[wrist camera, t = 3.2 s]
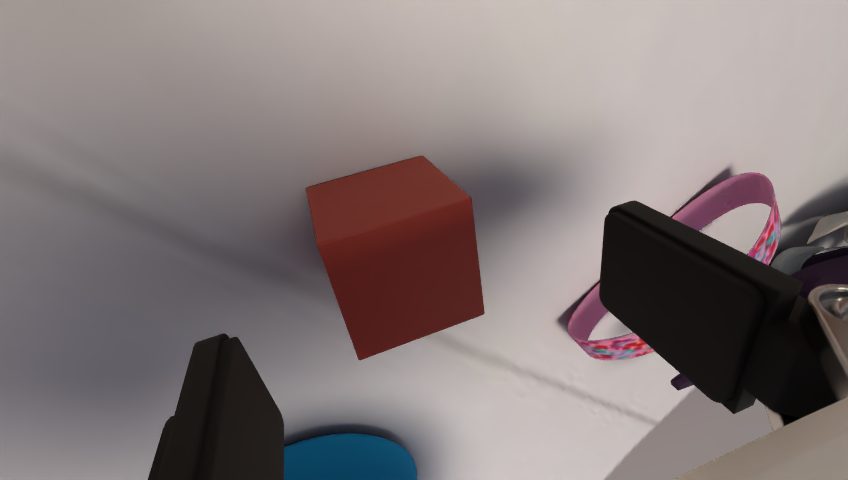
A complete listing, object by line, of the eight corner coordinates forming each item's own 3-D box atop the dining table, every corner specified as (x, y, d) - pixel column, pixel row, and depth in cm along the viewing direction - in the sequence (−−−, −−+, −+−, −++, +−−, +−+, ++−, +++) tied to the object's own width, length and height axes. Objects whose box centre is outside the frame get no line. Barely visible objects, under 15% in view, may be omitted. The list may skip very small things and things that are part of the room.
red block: (339, 285, 15) (359, 361, 11) (305, 187, 13) (316, 244, 9) (439, 252, 15) (485, 314, 12) (422, 154, 13) (472, 197, 10)
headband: (630, 398, 17) (610, 378, 16) (574, 340, 21) (554, 320, 20) (832, 224, 16) (826, 190, 15) (738, 193, 20) (727, 163, 18)
